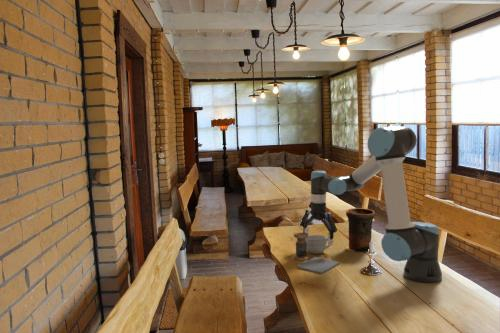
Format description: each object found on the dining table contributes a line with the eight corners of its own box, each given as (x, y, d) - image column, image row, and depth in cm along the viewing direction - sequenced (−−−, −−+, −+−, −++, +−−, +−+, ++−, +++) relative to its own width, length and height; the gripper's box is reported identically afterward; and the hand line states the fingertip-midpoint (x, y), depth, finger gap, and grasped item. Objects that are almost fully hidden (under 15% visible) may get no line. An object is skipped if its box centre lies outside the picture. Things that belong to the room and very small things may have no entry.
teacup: (302, 254, 214) (302, 238, 213) (307, 247, 224) (307, 233, 223) (330, 257, 209) (330, 241, 208) (334, 250, 219) (334, 235, 218)
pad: (339, 263, 199) (339, 262, 199) (322, 274, 187) (322, 272, 187) (315, 258, 207) (315, 256, 207) (297, 267, 195) (297, 266, 195)
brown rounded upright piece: (311, 257, 208) (311, 234, 207) (303, 261, 203) (303, 237, 201) (299, 255, 213) (299, 231, 211) (291, 258, 207) (291, 234, 206)
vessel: (363, 242, 231) (364, 206, 228) (379, 250, 217) (380, 212, 214) (340, 245, 226) (340, 209, 223) (355, 254, 213) (355, 215, 210)
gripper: (344, 203, 208) (343, 245, 211) (301, 197, 224) (301, 236, 227) (337, 206, 202) (336, 249, 205) (293, 199, 218) (293, 239, 221)
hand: (317, 242), depth 216 cm, fingers open, 13 cm apart
